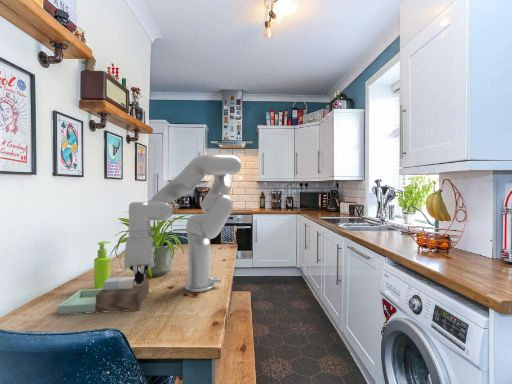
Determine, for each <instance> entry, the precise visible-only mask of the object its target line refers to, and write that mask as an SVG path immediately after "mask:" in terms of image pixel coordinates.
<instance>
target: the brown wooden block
mask: <svg viewBox="0 0 512 384" xmlns="http://www.w3.org/2000/svg"><path fill="white" fill-rule="evenodd" d="M148 294H149V295H150V279H149V278H147V279H145V278H144V281H143V282H142V283H141V284H136V285H135V286H134V288H130V289H111V290H104V289H103V290H102V291H100V292H99V293H98V294H97V295H96V312H102V313H104V312H103V311H119V312H127V311H126V310H135V311H140V309H141V308H142V306H143V304H144V303H145V301H146V299H147V298H146V297H148V296H149V295H148ZM147 295H148V296H147ZM144 300H145V301H144ZM143 302H144V303H143ZM141 305H142V306H141ZM124 310H125V311H124Z"/></svg>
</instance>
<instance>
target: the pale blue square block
mask: <svg viewBox="0 0 512 384" xmlns="http://www.w3.org/2000/svg"><path fill="white" fill-rule="evenodd" d="M123 277H124V276H122V277H110V278H108V279H107V280H106V281H105V282H104V290H111V289H118V281H119V280H121V279H122V278H123Z"/></svg>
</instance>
